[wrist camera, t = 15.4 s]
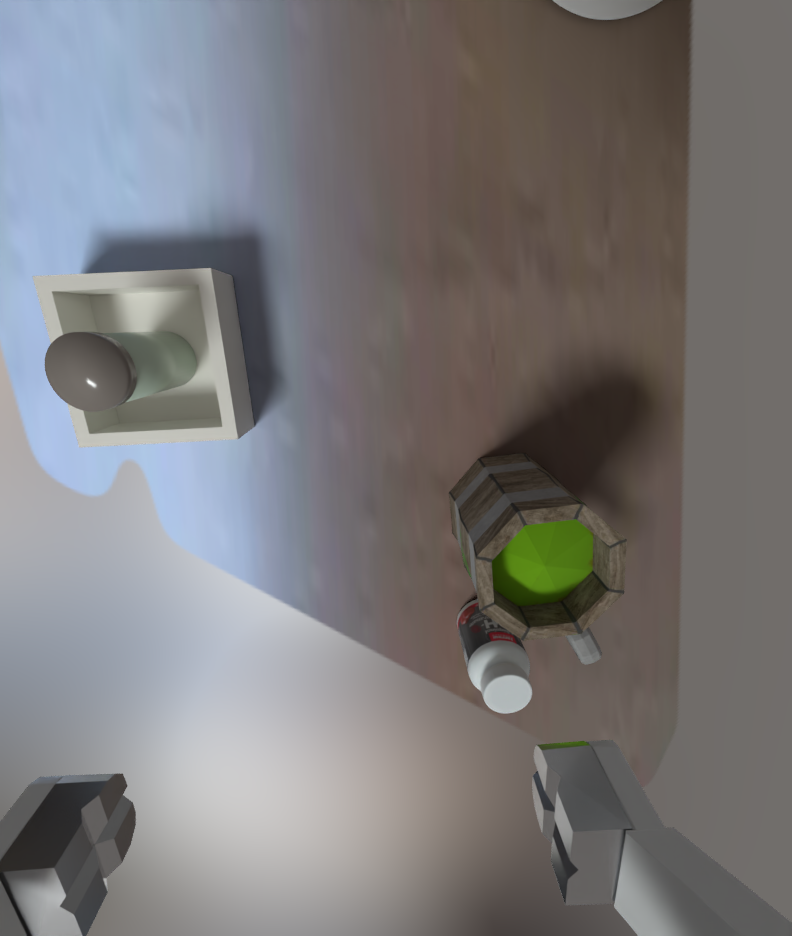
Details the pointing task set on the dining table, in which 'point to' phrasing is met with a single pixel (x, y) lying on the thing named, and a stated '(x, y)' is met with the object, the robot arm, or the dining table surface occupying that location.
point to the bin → (149, 310)
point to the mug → (536, 552)
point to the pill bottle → (494, 660)
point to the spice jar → (117, 367)
